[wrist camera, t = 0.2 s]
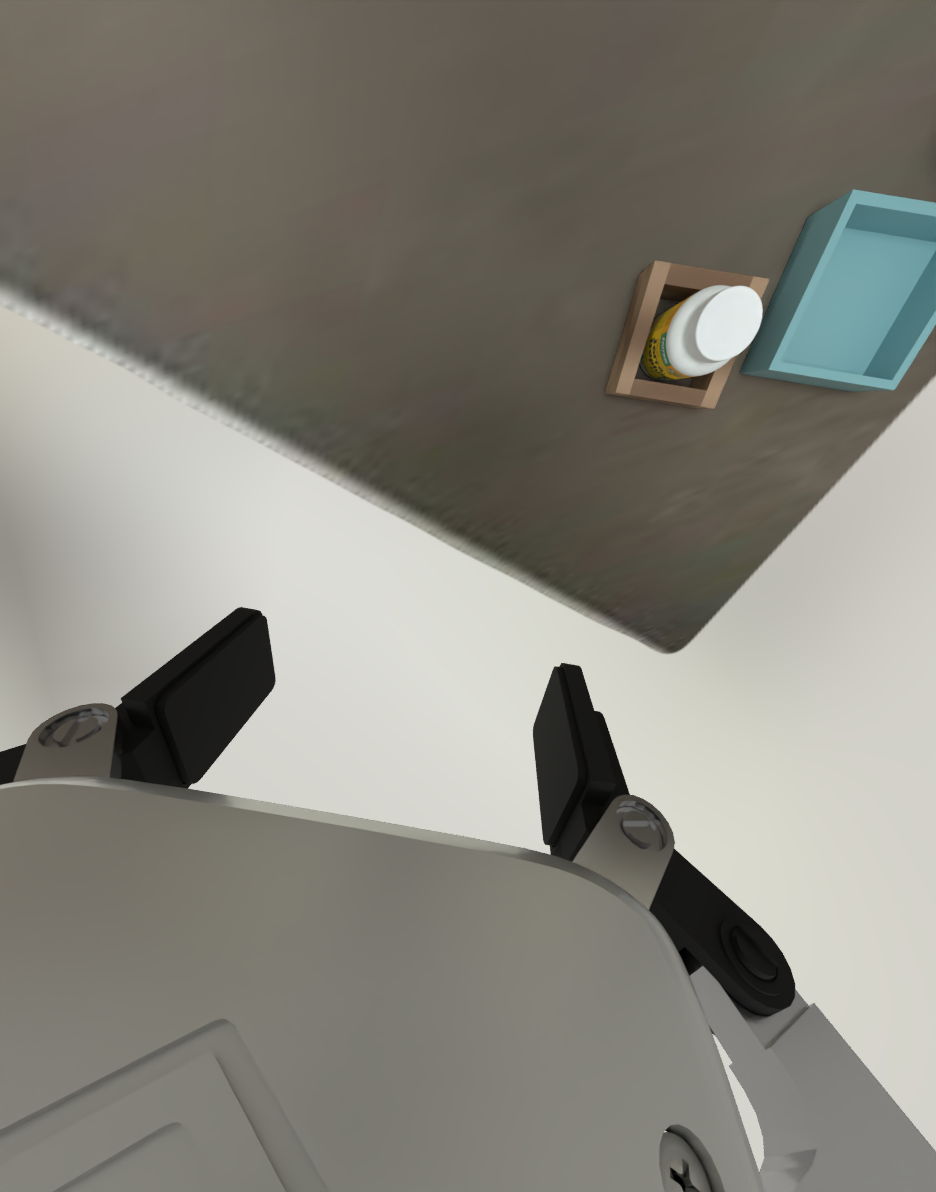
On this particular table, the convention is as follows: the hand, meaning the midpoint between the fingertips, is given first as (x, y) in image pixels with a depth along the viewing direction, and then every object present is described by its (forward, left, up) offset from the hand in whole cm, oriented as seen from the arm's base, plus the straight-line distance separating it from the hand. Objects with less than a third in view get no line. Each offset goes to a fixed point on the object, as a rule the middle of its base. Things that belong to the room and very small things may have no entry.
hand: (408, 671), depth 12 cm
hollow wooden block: (-15, +15, -31) cm, 37 cm away
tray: (-19, +27, -31) cm, 45 cm away
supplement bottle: (-15, +15, -31) cm, 38 cm away
